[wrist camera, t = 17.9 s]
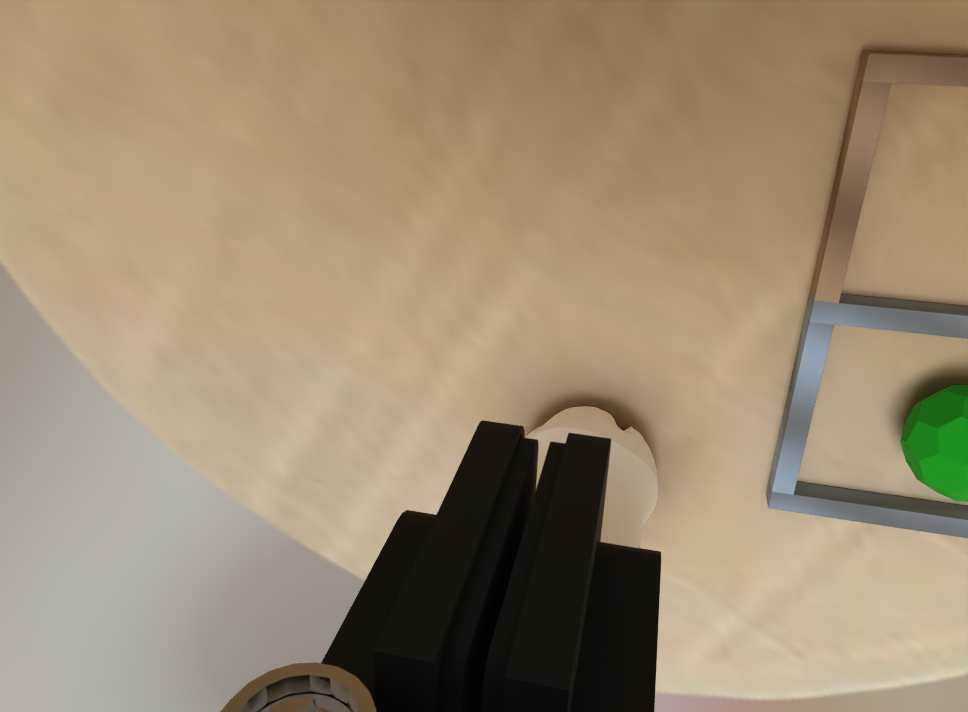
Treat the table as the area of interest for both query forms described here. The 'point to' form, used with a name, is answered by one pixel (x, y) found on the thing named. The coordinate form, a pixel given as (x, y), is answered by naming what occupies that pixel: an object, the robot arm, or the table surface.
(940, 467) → the polyhedron
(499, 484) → the robot arm
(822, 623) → the table surface
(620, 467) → the water bottle
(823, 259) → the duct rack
